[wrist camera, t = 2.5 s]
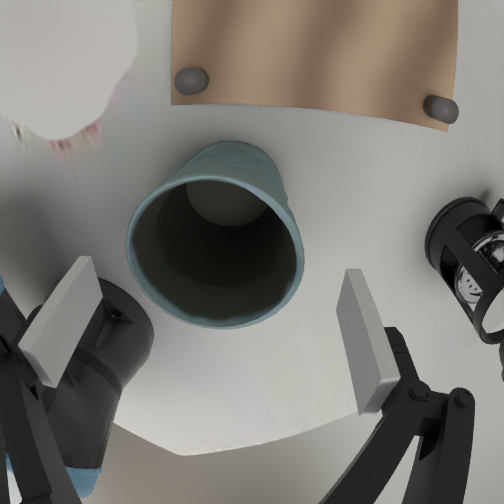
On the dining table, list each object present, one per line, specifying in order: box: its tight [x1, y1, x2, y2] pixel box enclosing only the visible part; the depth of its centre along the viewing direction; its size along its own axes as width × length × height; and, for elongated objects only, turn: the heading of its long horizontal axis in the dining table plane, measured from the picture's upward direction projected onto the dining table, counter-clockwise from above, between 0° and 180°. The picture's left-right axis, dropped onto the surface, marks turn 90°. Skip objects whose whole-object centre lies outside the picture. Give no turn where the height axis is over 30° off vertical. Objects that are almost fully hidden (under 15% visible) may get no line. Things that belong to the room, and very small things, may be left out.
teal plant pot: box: [126, 141, 304, 329], centre depth 22 cm, size 10×10×12 cm
